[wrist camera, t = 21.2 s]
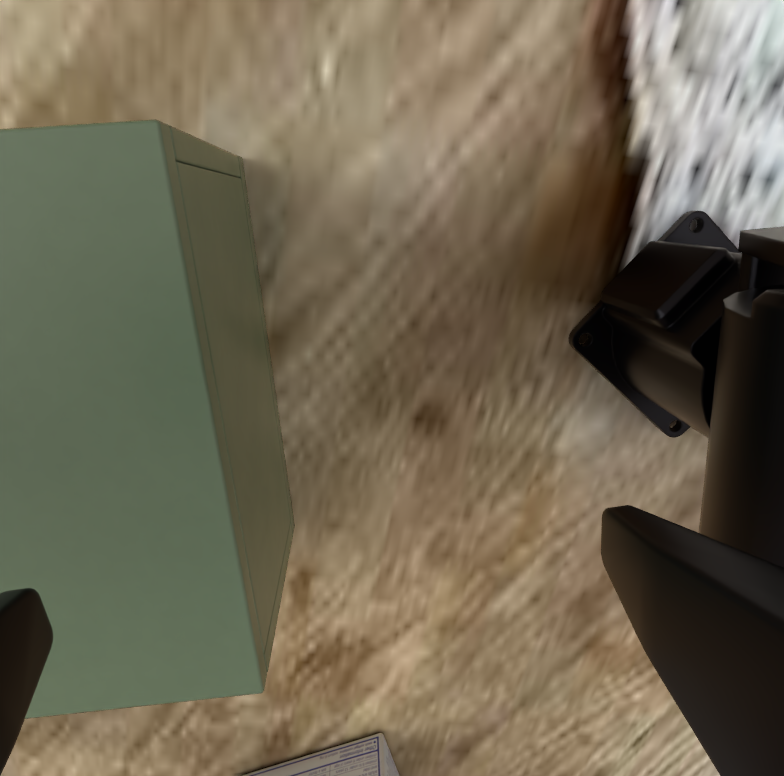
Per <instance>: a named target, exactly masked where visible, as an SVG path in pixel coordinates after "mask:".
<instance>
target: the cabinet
mask: <svg viewBox="0 0 784 776" xmlns="http://www.w3.org/2000/svg"><path fill="white" fill-rule="evenodd" d="M293 532H294V519H293V512H292V505H291V497H290V490H289V483H288V476H287V469H286V462H285V455H284V448H283V441H282V434H281V427H280V420H279V413H278V406H277V399H276V392H275V385H274V378H273V371H272V364H271V357H270V350H269V343H268V336H267V329H266V322H265V315H264V308H263V301H262V294H261V287H260V280H259V273H258V266H257V259H256V252H255V245H254V238H253V231H252V224H251V217H250V210H249V203H248V196H247V189H246V182H245V175H244V168H243V161H242V157H240V156H237V155H234V154H232V153H230V152H228V151H225V150H223V149H221V148H219V147H216V146H214V145H212V144H210V143H207V142H205V141H203V140H201V139H199V138H196V137H194V136H192V135H190V134H187V133H185V132H183V131H181V130H178V129H176V128H174V127H172V126H169V125H167V124H165V123H163V122H161V121H158V120H140V121H125V122H109V123H93V124H77V125H61V126H46V127H30V128H14V129H0V593H2V592H5V591H9V590H17V589H24V588H32V589H35V590H36V591H37V592H38V593H39V595H40V597H41V600H42V603H43V605H44V608H45V610H46V613H47V616H48V618H49V621H50V623H51V626H52V629H53V643H52V647H51V650H50V653H49V655H48V658H47V661H46V663H45V666H44V669H43V671H42V674H41V677H40V679H39V682H38V685H37V687H36V690H35V693H34V695H33V698H32V701H31V703H30V706H29V709H28V711H27V714H26V717H25V719H28V718H37V717H46V716H55V715H65V714H74V713H83V712H92V711H101V710H111V709H120V708H129V707H138V706H148V705H157V704H166V703H175V702H185V701H194V700H203V699H212V698H222V697H231V696H240V695H249V694H259V693H263V691H264V687H265V682H266V677H267V672H268V667H269V662H270V656H271V651H272V646H273V640H274V635H275V629H276V624H277V619H278V613H279V608H280V602H281V597H282V591H283V586H284V581H285V575H286V570H287V564H288V559H289V553H290V548H291V543H292V537H293Z"/></svg>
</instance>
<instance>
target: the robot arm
mask: <svg viewBox="0 0 784 776" xmlns="http://www.w3.org/2000/svg"><path fill="white" fill-rule="evenodd" d="M694 219H695V220H696V222H697V227H696V228H695V230H694V231H691V230H690V223H691V222H692V220H694ZM741 252H742V253H741ZM586 333H587V335H588V339H587V341H586V342H585V343H583V344H580V343H579V338H580V336H581V335H583V334H586ZM569 343H570V345H571V346H572V348H573V349H574V350H576V351H577V352H578V353H579V354H580V355H581V356H582V357H583V358H584V359H585V360H586V361H587V362H588V363H589V364H590V365H591V366H593V367H594V368H595V369H596V370H597V371H598V372H599V373H600V374H601V375H602V376H603V377H604V378H605V379H606V380H607V381H608V382H610V383H611V384H612V385H613V386H614V387H615V388H616V389H617V390H618V391H619V392H620V393H621V394H622V395H623V396H624V397H626V398H627V399H628V400H629V401H630V402H631V403H632V404H633V405H634V406H635V407H636V408H637V409H638V410H639V411H640V412H641V413H643V414H644V415H645V416H646V417H647V418H648V419H649V420H650V421H651V422H652V423H653V424H654V425H655V426H656V427H657V428H659V429H660V430H661V431H662V432H663V433H665V434H666V435H668V436H669V437H678V436H680V435H682V434H683V433H684V432H685V431H686V430H687V429H688V428H690V427H692V428H694V429H695V430H697V431H698V432H700V433H701V434H703V435H705V436H706V437H708V438H709V441H708V450H707V460H706V469H705V479H704V488H703V498H702V507H701V517H700V526H699V533H697V532H695V531H692V530H690V529H687V528H685V527H682V526H680V525H677V524H675V523H672V522H670V521H668V520H665V519H663V518H660V517H658V516H655V515H653V514H650V513H648V512H645V511H643V510H640V509H638V508H635V507H633V506H630V505H625V506H618V507H611V508H606V509H605V510H604V512H603V515H602V535H601V555H602V560H603V564H604V567H605V569H606V571H607V573H608V575H609V577H610V579H611V582H612V584H613V586H614V588H615V590H616V592H617V594H618V596H619V598H620V601H621V603H622V605H623V607H624V609H625V611H626V613H627V615H628V617H629V619H630V622H631V624H632V626H633V628H634V630H635V632H636V634H637V636H638V638H639V640H640V642H641V644H642V646H643V648H644V650H645V652H646V654H647V656H648V657H649V659H650V661H651V663H652V664H653V666H654V668H655V669H656V671H657V673H658V674H659V676H660V677H661V679H662V681H663V682H664V684H665V686H666V687H667V689H668V691H669V692H670V694H671V695H672V697H673V699H674V700H675V702H676V704H677V705H678V707H679V709H680V710H681V712H682V713H683V715H684V717H685V718H686V720H687V722H688V723H689V725H690V727H691V728H692V730H693V731H694V733H695V735H696V736H697V738H698V740H699V741H700V743H701V745H702V746H703V748H704V749H705V751H706V753H707V754H708V756H709V758H710V759H711V761H712V763H713V764H714V766H715V767H716V769H717V771H718V772H719V774H720V776H784V227H773V228H763V229H752V230H743V231H740V240H739V249H737V248H736V247H735V245H734V244H733V243H732V242H731V241H730V240H729V239H728V237H727V236H726V235H725V234H724V233H723V232H722V231H721V229H720V228H719V227H718V226H717V225H716V224H715V223H714V222H713V220H712V219H711V218H710V217H709V216H708V215H707V214H706V213H704V212H702V211H689V212H686V213H685V214H683V215H682V216H681V217H680V218H679V219H678V220H677V221H676V222H675V223H674V224H673V225H672V226H671V227H670V229H669V230H668V231H667V232H666V233H665V234H664V235H663V236H662V237H661V238H660V239H659V240H658V241H651V242H649V243H648V244H647V245H646V246H645V247H644V248H643V249H642V250H641V251H640V252H639V253H638V254H637V256H636V257H635V258H634V259H633V260H632V261H631V262H630V263H629V264H628V265H627V266H626V267H625V268H624V269H623V270H622V271H621V272H620V273H619V274H618V275H617V276H616V277H615V278H614V280H613V281H612V282H611V283H610V284H609V285H608V286H607V287H606V288H605V289H604V290H603V291H602V294H601V300H600V301H599V302H598V304H597V305H596V306H595V307H594V308H593V309H592V310H591V311H590V312H589V313H588V314H587V315H586V316H585V317H584V318H583V319H582V320H581V321H580V322H579V323H578V324H577V325H576V326H575V327H574V329H573V330H572V331H571V333H570V335H569ZM675 420H676V424H675V426H674V427H672V428H670V424H671V423H672V422H673V421H675ZM52 643H53V629H52V626H51V623H50V621H49V618H48V616H47V613H46V610H45V608H44V605H43V603H42V600H41V597H40V595H39V593H38V592H37V591H36V590H35V589H32V588H24V589H17V590H9V591H5V592H2V593H0V775H1V773H2V771H3V769H4V767H5V765H6V762H7V760H8V758H9V756H10V754H11V752H12V749H13V747H14V745H15V742H16V740H17V737H18V735H19V732H20V730H21V727H22V725H23V722H24V719H25V717H26V714H27V711H28V709H29V706H30V703H31V701H32V698H33V695H34V693H35V690H36V687H37V685H38V682H39V679H40V677H41V674H42V671H43V669H44V666H45V663H46V661H47V658H48V655H49V653H50V650H51V647H52Z"/></svg>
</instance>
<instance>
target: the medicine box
mask: <svg viewBox="0 0 784 776" xmlns="http://www.w3.org/2000/svg"><path fill="white" fill-rule="evenodd" d="M242 776H399V773H398V771H397V768H396V766H395V763H394V760H393V758H392V755H391V753H390V750H389V748H388V745H387V743H386V740H385V737H384V735H383V734H382V733H378V734H375V735H372V736H369V737H365V738H362V739H359V740H356V741H353V742H350V743H346V744H343V745H339V746H336V747H333V748H330V749H326V750H323V751H320V752H317V753H314V754H310V755H307V756H304V757H301V758H297V759H294V760H291V761H287V762H284V763H281V764H278V765H274V766H271V767H268V768H265V769H261V770H258V771H255V772H251V773H248V774H245V775H242Z"/></svg>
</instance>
